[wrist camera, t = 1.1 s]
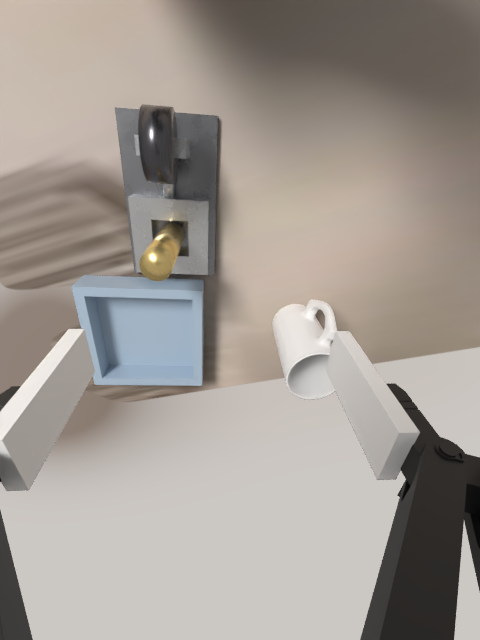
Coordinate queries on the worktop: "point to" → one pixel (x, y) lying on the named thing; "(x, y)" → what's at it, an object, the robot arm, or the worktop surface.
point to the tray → (142, 329)
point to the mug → (305, 348)
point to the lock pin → (162, 252)
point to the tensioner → (170, 181)
